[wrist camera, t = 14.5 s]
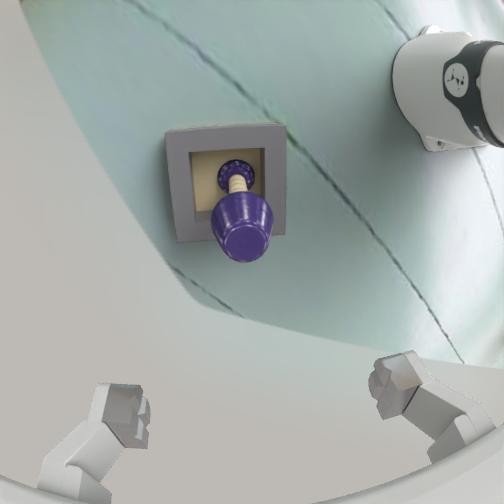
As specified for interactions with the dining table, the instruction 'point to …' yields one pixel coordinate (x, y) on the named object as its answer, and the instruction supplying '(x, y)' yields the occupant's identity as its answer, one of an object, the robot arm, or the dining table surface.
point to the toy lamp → (241, 214)
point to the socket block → (208, 164)
